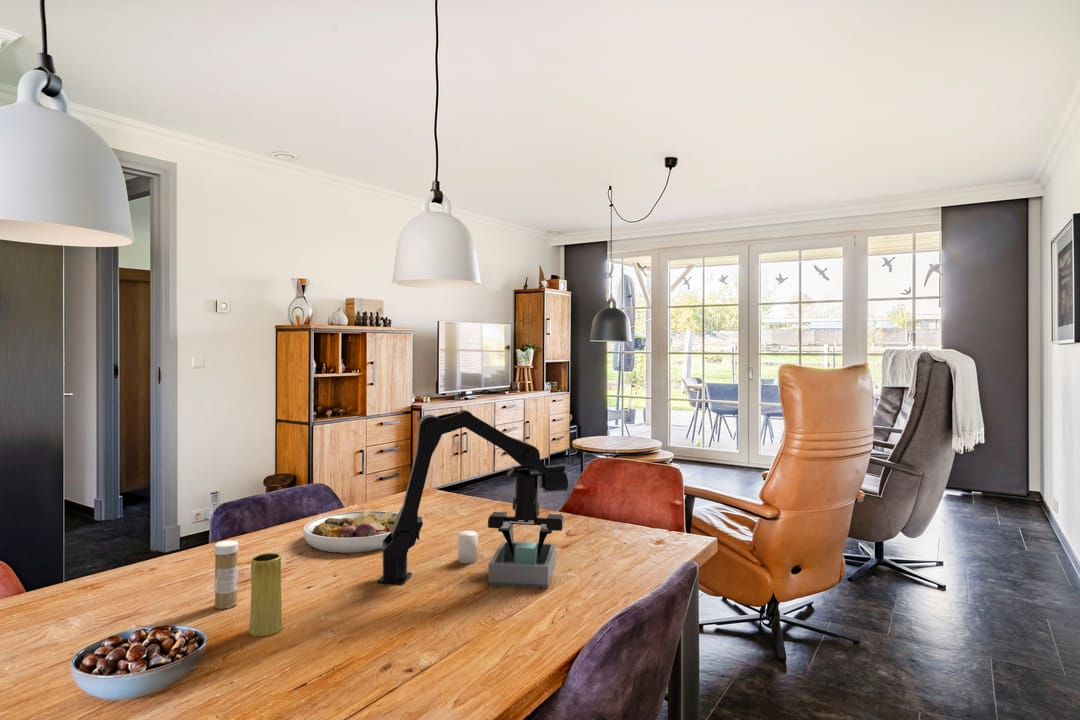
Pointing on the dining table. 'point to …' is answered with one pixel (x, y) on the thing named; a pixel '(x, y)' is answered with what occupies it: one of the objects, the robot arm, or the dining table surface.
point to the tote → (521, 568)
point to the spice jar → (226, 574)
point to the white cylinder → (467, 547)
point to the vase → (265, 595)
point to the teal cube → (526, 553)
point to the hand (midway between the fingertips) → (525, 555)
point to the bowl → (350, 531)
